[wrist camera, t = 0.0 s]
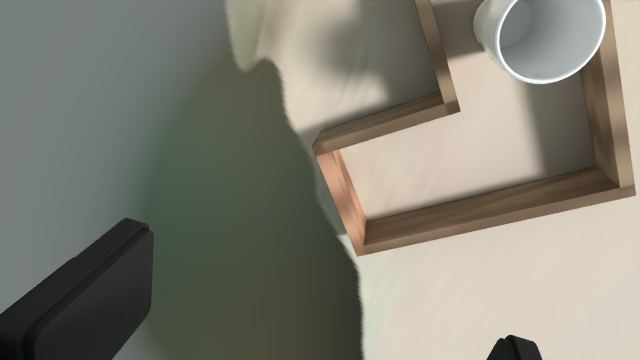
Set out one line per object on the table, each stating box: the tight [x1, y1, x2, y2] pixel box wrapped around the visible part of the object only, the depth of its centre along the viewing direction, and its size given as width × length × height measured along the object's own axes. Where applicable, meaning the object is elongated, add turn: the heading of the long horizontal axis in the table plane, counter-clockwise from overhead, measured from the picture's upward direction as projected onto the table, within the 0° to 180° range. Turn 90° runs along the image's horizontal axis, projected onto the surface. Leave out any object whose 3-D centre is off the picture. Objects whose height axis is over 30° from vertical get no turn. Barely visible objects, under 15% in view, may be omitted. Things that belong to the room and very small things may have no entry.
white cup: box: [473, 0, 606, 84], centre depth 33 cm, size 7×7×15 cm
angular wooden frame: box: [312, 0, 636, 257], centre depth 42 cm, size 25×28×6 cm
